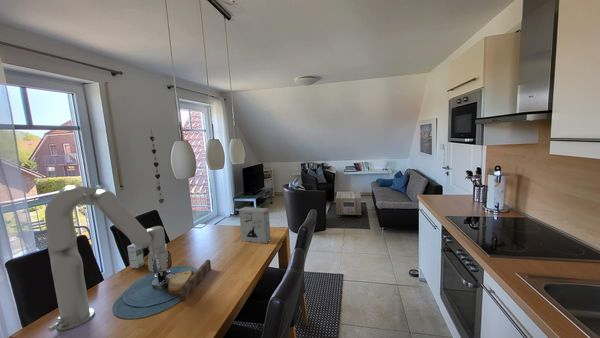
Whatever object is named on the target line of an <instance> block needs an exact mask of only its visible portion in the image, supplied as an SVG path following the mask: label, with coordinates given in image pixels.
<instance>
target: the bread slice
mask: <svg viewBox="0 0 600 338" xmlns="http://www.w3.org/2000/svg"><path fill="white" fill-rule="evenodd" d="M194 273H195V272H194V270H192V269H190V270H187V271H179V272H176V273H175V274H174V275H173V276H172V277H170V279H169V280H168V283H167V285H168V286H167V291H168V293H169V294H171V295H180V294H179V289H180V288H181V287H182V286H183V285H184V284H185V283H186V282H187V281H188V279H189V278H190V277H191V276H192V275H193V274H194Z"/></svg>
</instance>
